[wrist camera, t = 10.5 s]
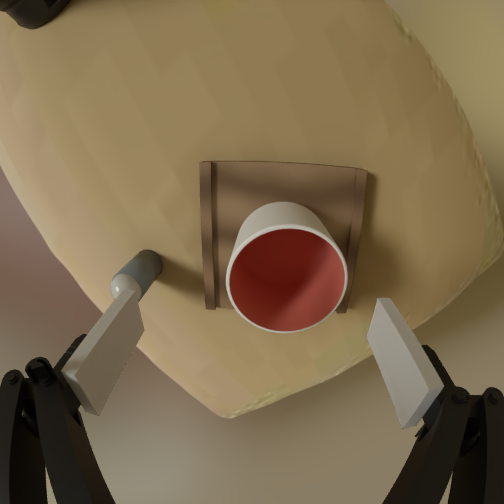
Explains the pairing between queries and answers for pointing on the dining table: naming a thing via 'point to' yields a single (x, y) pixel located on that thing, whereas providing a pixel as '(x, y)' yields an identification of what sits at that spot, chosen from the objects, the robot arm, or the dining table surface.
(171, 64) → the dining table surface
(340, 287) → the cup
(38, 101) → the dining table surface
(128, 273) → the shaker
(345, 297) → the board
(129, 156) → the dining table surface
